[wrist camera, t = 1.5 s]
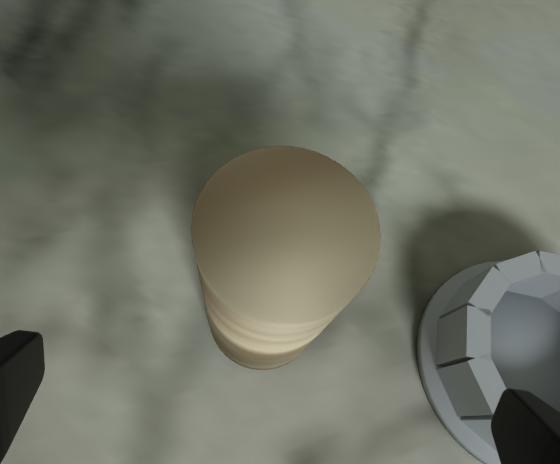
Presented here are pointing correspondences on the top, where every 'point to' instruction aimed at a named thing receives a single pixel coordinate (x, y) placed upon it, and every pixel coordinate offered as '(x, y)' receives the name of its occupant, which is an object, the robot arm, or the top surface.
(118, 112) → the top surface
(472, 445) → the round socket
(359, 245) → the birch plug
